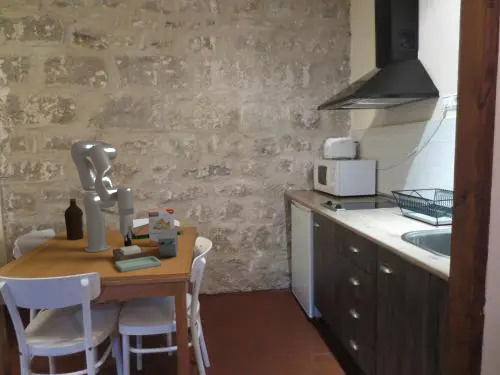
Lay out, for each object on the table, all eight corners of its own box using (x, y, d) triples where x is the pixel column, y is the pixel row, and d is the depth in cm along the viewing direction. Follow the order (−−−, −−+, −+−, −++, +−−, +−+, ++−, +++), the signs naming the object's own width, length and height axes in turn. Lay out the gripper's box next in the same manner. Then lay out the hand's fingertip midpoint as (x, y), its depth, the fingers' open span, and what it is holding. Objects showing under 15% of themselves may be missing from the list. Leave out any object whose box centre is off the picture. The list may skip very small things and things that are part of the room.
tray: (115, 265, 185) (115, 261, 185) (153, 259, 195) (152, 255, 195) (122, 272, 175) (121, 268, 175) (161, 265, 185) (161, 261, 184)
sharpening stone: (175, 260, 193) (174, 238, 192) (159, 260, 192) (158, 239, 191) (178, 247, 218) (177, 228, 217) (163, 248, 217) (163, 228, 216)
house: (126, 234, 259) (125, 221, 258) (176, 228, 272) (175, 217, 271) (130, 241, 238) (130, 227, 237) (184, 235, 251) (184, 222, 250)
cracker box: (149, 247, 220) (147, 210, 218) (150, 244, 226) (148, 208, 224) (175, 245, 223) (173, 208, 221) (175, 243, 229) (173, 207, 227)
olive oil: (67, 241, 239) (65, 200, 237) (64, 238, 248) (61, 198, 246) (86, 238, 245) (83, 198, 243) (82, 235, 254) (80, 197, 252)
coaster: (120, 251, 196) (119, 247, 196) (136, 249, 200) (136, 245, 200) (124, 255, 189) (123, 250, 189) (140, 252, 193) (140, 248, 193)
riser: (113, 257, 201) (112, 249, 200) (138, 253, 207) (138, 245, 207) (120, 264, 187) (120, 256, 187) (147, 260, 194) (147, 252, 194)
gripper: (114, 211, 202) (117, 246, 204) (122, 214, 190) (124, 252, 191) (129, 209, 206) (131, 244, 208) (137, 212, 194) (139, 249, 195)
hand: (128, 247), depth 200 cm, fingers closed
